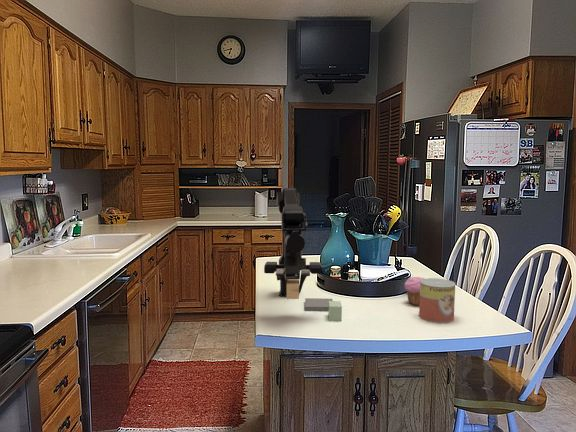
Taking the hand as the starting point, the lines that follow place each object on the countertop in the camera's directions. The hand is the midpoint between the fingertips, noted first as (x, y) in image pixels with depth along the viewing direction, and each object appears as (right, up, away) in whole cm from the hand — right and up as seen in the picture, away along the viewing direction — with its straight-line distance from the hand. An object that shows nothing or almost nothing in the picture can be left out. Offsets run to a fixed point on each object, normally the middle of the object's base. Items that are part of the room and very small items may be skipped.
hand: (293, 292), depth 155 cm
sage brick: (+14, -9, +1) cm, 16 cm away
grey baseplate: (+9, -7, +13) cm, 17 cm away
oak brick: (0, -1, 0) cm, 1 cm away
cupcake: (+46, -7, +16) cm, 49 cm away
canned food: (+48, -9, +1) cm, 49 cm away
